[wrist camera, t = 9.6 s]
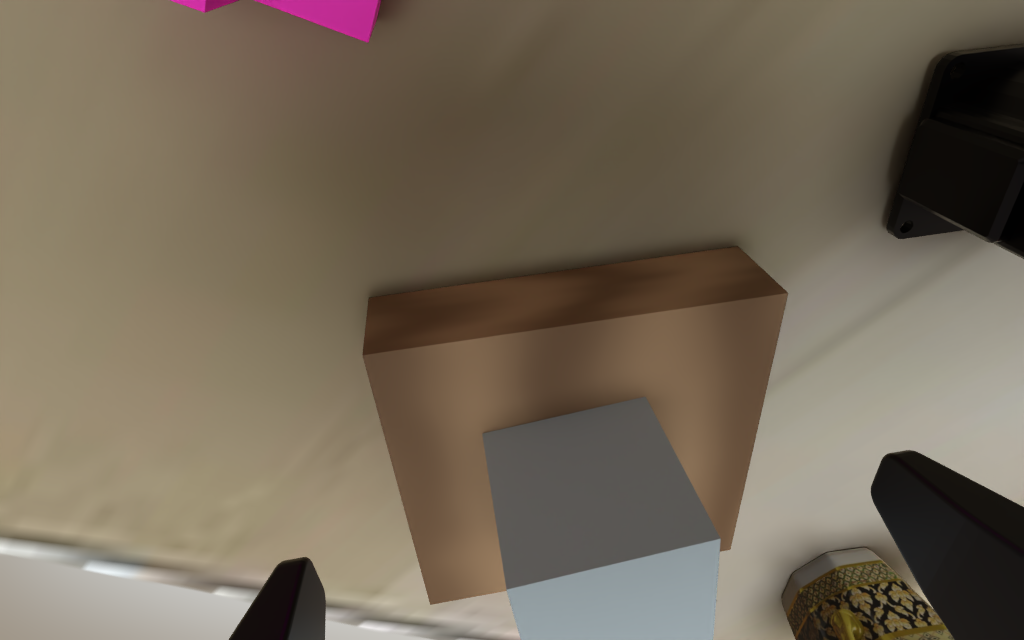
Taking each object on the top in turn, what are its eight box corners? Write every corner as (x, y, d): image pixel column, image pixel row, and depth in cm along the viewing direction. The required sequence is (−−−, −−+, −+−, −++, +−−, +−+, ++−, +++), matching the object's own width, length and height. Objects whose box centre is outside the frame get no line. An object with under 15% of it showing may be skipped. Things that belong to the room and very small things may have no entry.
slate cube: (645, 396, 21) (720, 538, 16) (649, 503, 24) (712, 648, 19) (482, 433, 21) (506, 589, 16) (509, 536, 24) (535, 691, 19)
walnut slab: (732, 241, 23) (787, 293, 19) (695, 482, 30) (730, 549, 27) (369, 290, 21) (362, 355, 18) (427, 529, 29) (430, 604, 26)
